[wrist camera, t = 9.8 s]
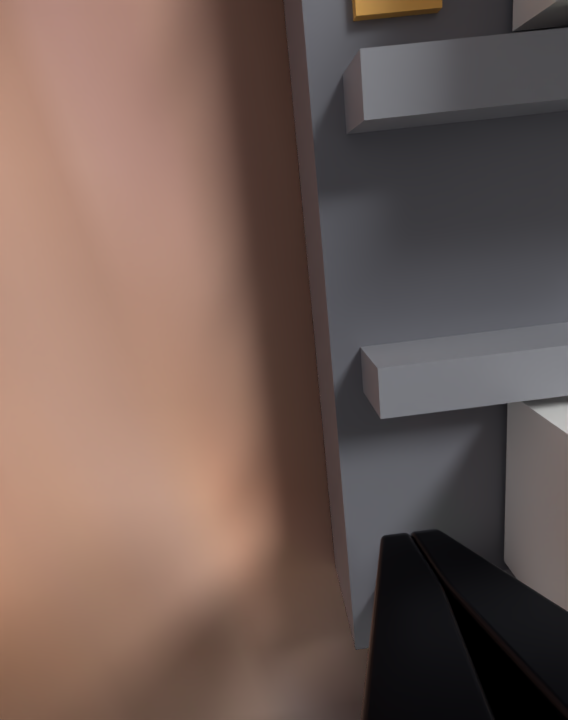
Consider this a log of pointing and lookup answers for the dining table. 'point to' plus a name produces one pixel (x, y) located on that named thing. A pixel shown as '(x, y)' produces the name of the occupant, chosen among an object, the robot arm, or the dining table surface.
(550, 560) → the pale grey cube
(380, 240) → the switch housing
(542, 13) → the white cube
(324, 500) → the dining table surface
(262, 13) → the dining table surface
